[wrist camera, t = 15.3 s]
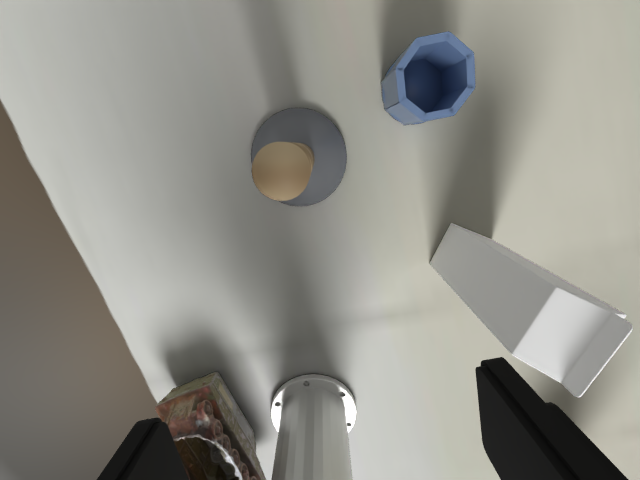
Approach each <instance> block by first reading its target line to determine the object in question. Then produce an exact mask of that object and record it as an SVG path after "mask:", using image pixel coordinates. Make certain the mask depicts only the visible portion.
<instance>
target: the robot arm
mask: <svg viewBox="0 0 640 480" xmlns="http://www.w3.org/2000/svg"><path fill="white" fill-rule="evenodd" d="M476 379H477V390H478V400H479V411H480V421H481V432H482V441H483V445H484V448H485V451H486V453H487V455H488V457H489V459H490V461H491V463H492V464H493V466H494V468H495V470H496V472H497V473H498V475H499V477H500V479H501V480H628V479H627V478H626V477H625V476H624V475H623V474H622V473H621V472H620V471H619V469H618V468H617V467H616V466H615V465H614V464H613V463H612V462H611V461H610V460H609V459H608V458H607V457H606V456H605V455H604V454H603V453H602V452H601V451H600V450H599V449H598V448H597V446H596V445H595V444H594V443H593V442H592V441H591V440H590V439H589V438H588V437H587V436H586V435H585V434H584V433H583V432H582V431H581V430H580V429H579V428H578V427H577V426H576V425H575V424H574V422H573V421H572V420H571V419H570V418H569V417H568V416H567V415H566V414H565V413H564V412H563V411H562V410H561V409H560V408H559V407H558V406H557V405H555V404H553V403H551V402H549V403H545V402H544V401H543V400H542V399H541V398H540V397H539V396H538V395H537V393H536V392H535V391H534V390H533V389H532V388H531V387H530V386H529V385H528V384H527V383H526V381H525V380H524V379H523V378H522V377H521V376H520V375H519V374H518V373H517V372H516V371H515V369H514V368H513V367H512V366H511V365H510V364H509V363H508V362H507V361H506V360H505V359H504V358H502V357H500V358H494V359H489V360H483V361H481V366H480V367H476ZM271 419H272V422H273V425H274V426H275V428H276V430H277V431H278V439H277V446H276V453H275V460H274V467H273V474H272V480H352V470H351V460H350V449H349V439H348V433H349V432H350V430H351V429H352V427H353V425H354V423H355V420H356V405H355V400H354V398H353V395H352V393H351V392H350V391H349V389H348V388H347V387H346V386H345V385H344V384H342V383H341V382H339V381H338V380H336V379H334V378H331V377H329V376H324V375H317V374H310V375H302V376H299V377H296V378H293V379H291V380H289V381H288V382H286V383H285V384H283V385H282V386H281V387H280V388H279V390H278V391H277V392H276V394H275V396H274V398H273V401H272V406H271ZM97 480H189V479H188V476H187V474H186V471H185V469H184V466H183V463H182V461H181V458H180V456H179V453H178V451H177V448H176V445H175V443H174V440H173V438H172V435H171V433H170V430H169V427H168V425H167V423H166V422H162V420H161V419H160V418H152V419H146V420H141V421H138V422H137V423H136V424H135V425H134V426H133V428H132V429H131V431H130V432H129V434H128V435H127V437H126V438H125V440H124V441H123V442H122V444H121V445H120V447H119V448H118V450H117V451H116V453H115V454H114V456H113V457H112V459H111V460H110V461H109V463H108V464H107V466H106V467H105V469H104V470H103V472H102V473H101V474H100V476H99V477H98V479H97Z"/></svg>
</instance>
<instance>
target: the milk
mask: <svg viewBox="0 0 640 480" xmlns="http://www.w3.org/2000/svg"><path fill="white" fill-rule="evenodd" d="M430 265H431V266H432V267H433V269H434V270H435V271H436V272H437V273H438V274H439V275H440V276H441V277H442V278H443V280H444V281H445V282H446V283H447V284H448V285H449V286H450V287H451V288H452V289H453V291H454V292H455V293H456V294H457V295H458V296H459V297H460V298H461V299H462V300H463V302H464V303H465V304H466V305H467V306H468V307H469V308H470V309H471V310H472V312H473V313H474V314H475V315H476V316H477V317H478V318H479V319H480V320H481V321H482V323H483V324H484V325H485V326H486V327H487V328H488V329H489V330H490V331H491V332H492V334H493V335H494V336H495V337H496V338H497V339H498V340H499V341H500V342H501V343H502V345H503V346H504V347H505V348H506V349H507V350H508V351H509V352H510V353H511V354H512V355H513V356H514V357H516V358H518V359H519V360H521V361H523V362H525V363H526V364H528V365H530V366H532V367H533V368H535V369H537V370H539V371H540V372H542V373H544V374H546V375H547V376H549V377H551V378H553V379H554V380H556V381H558V382H560V383H561V384H562V385H563V386H564V387H565V388H566V389H567V390H568V391H569V392H570V393H571V394H572V395H574V396H575V397H581V396H582V395H583V394H584V392H585V391H586V390H587V389H588V387H589V386H590V385H591V383H592V382H593V381H594V380H595V378H596V377H597V376H598V374H599V373H600V372H601V370H602V369H603V368H604V367H605V365H606V364H607V363H608V361H609V360H610V359H611V357H612V356H613V355H614V354H615V352H616V351H617V350H618V348H619V347H620V346H621V344H622V343H623V342H624V341H625V339H626V338H627V337H628V335H629V334H630V333H631V331H632V330H633V326H632V324H631V323H630V322H628V321H627V320H625V319H624V318H625V317H626V314H625V313H623V312H621V311H619V310H618V309H616V308H614V307H612V306H610V305H609V304H607V303H605V302H603V301H601V300H600V299H598V298H596V297H594V296H593V295H591V294H589V293H587V292H585V291H584V290H582V289H580V288H578V287H576V286H575V285H573V284H571V283H569V282H567V281H566V280H564V279H562V278H560V277H559V276H557V275H555V274H553V273H551V272H550V271H548V270H546V269H544V268H542V267H541V266H539V265H537V264H535V263H534V262H532V261H530V260H528V259H526V258H525V257H523V256H521V255H519V254H517V253H516V252H514V251H512V250H510V249H508V248H507V247H505V246H503V245H501V244H500V243H498V242H496V241H494V240H492V239H490V238H488V237H485V236H483V235H480V234H478V233H475V232H473V231H470V230H468V229H465V228H463V227H461V226H458V225H456V224H453V223H451V224H450V226H449V227H448V229H447V231H446V233H445V235H444V237H443V239H442V241H441V243H440V244H439V246H438V248H437V250H436V252H435V254H434V256H433V258H432V260H431V261H430Z"/></svg>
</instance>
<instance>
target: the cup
mask: <svg viewBox="0 0 640 480" xmlns="http://www.w3.org/2000/svg"><path fill="white" fill-rule="evenodd" d="M381 85H382V100H383V103H384V109H385V111H386V112H388V113H389V114H390V115H391V116H392V117H393V118H394V119H395V120H397V121H399V122H401V123H402V124H403V125H409V124H419V123H423V122H426V121H430V120H435V119H440V118H445V117H450V116H454V115H455V114H456V113H457V111H458V110H459V109H460V107H461V106H462V105H463V103H464V102H465V101H466V99H467V98H468V97H469V96H470V94H471V93H472V92H473V90H474V89H475V64H474V53H473V51H472V50H470V49H469V48H468V47H467V46H466V45H465V44H464V43H462V42H461V41H460V40H459V39H458V38H457V37H455V36H454V35H453V34H452V33H451V32H449V31H448V32H443V33H438V34H433V35H428V36H423V37H418V38H416V39H415V40H414V41H413V42H412V43H411V44H410V45H409V46H408V47H407V49H406V50H405V51H404V52H403V53H402V54H401V55H400V56H399V57H398V58H397V60H396V61H395V63H394V64H393V65H392V66H391V67H390V68H389V70H388V71H387V73H386V75H385V77H384V79H383V80H382V82H381Z"/></svg>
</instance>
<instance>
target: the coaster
mask: <svg viewBox="0 0 640 480" xmlns="http://www.w3.org/2000/svg"><path fill="white" fill-rule="evenodd" d="M273 142H294V143H303V144H306V145H307V146H309V147H310V148H311V149H312V151H313V153H314V157H315V161H314V165H313V169H312V172H311V175H310V178H309V181H308V184H307V186H306V188H305V189H304V191H303V192H302V193H301V194H300V195H298V196H297V197H295V198H293V199H290V200H286V201H279V202H282V203H284V204H288V205H292V206H308V205H312V204H315V203H318V202H320V201H322V200H324V199H325V198H327V197H328V196H329V195H330V194H331V193H332V192H334V190H335V189H336V188H337V187H338V185H339V184H340V182H341V180H342V178H343V175H344V172H345V168H346V160H347V155H346V148H345V143H344V141H343V138H342V136H341V134H340V132H339V130H338V129H337V128H336V126H335V125H334V124H333V123H332V122H331V121H330V120H329V119H328V118H327V117H325V116H324V115H322V114H320V113H318V112H316V111H313V110H310V109H305V108H291V109H286V110H283V111H280V112H278V113H276V114H274V115H273V116H271V117H270V118H269V119H268V120H266V121H265V122H264V124H263V125H262V126H261V127H260V129H259V130H258V132H257V134H256V136H255V138H254V141H253V145H252V152H251V162H252V164H253V161H254V158H255V156H256V154H257V153H258V152H259V151H260V150H261V149H262V148H263V147H264V146H266V145H268V144H270V143H273Z"/></svg>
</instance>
